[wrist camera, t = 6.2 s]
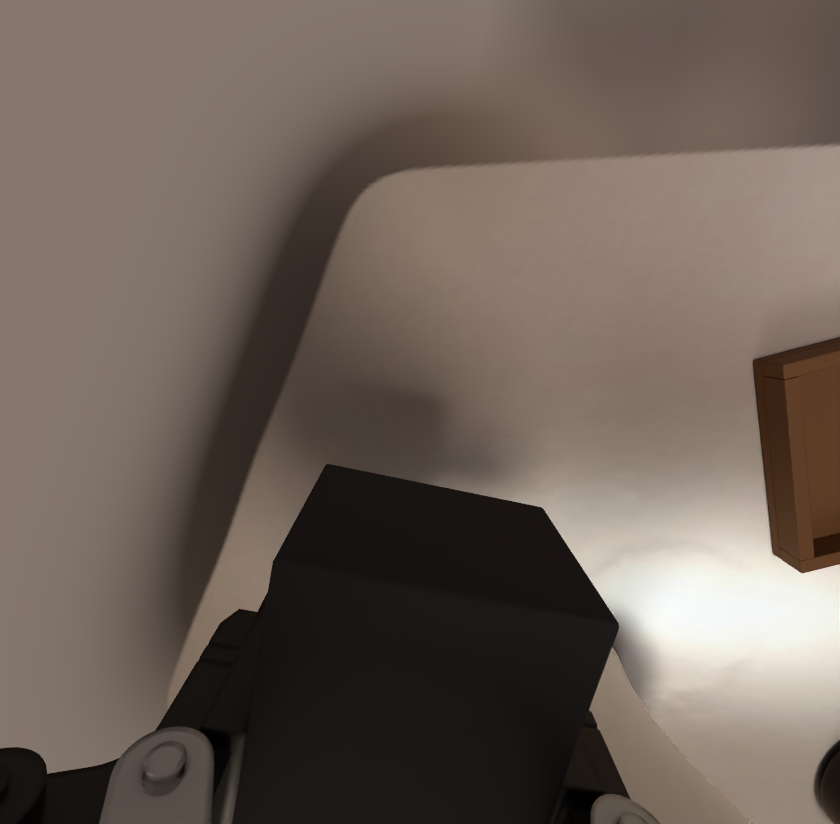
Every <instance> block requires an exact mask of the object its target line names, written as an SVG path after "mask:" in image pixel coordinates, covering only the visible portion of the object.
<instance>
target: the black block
mask: <svg viewBox="0 0 840 824" xmlns="http://www.w3.org/2000/svg"><path fill="white" fill-rule="evenodd" d="M618 629H619V625H618V622H617V620H616V619H615V617H614V616H613V614H612V613H611V611H610V610H609V608H608V607H607V605H606V604H605V602H604V601H603V599H602V598H601V596H600V595H599V593H598V592H597V590H596V588H595V587H594V585H593V584H592V582H591V581H590V579H589V578H588V576H587V575H586V573H585V572H584V570H583V569H582V567H581V566H580V564H579V563H578V561H577V560H576V558H575V557H574V555H573V554H572V552H571V550H570V549H569V547H568V546H567V544H566V543H565V541H564V540H563V538H562V537H561V535H560V534H559V532H558V531H557V529H556V528H555V526H554V525H553V523H552V522H551V520H550V519H549V517H548V515H547V514H546V512H545V511H544V509H543V508H541V507H537V506H532V505H527V504H522V503H517V502H512V501H507V500H502V499H498V498H493V497H488V496H483V495H478V494H473V493H468V492H463V491H458V490H453V489H449V488H444V487H439V486H434V485H429V484H424V483H419V482H414V481H409V480H404V479H399V478H395V477H390V476H385V475H380V474H375V473H370V472H365V471H360V470H355V469H350V468H345V467H341V466H336V465H331V464H326V466H325V467H324V469H323V471H322V473H321V474H320V476H319V478H318V480H317V482H316V484H315V485H314V487H313V489H312V491H311V493H310V495H309V497H308V498H307V500H306V502H305V504H304V506H303V508H302V509H301V511H300V513H299V515H298V517H297V519H296V520H295V522H294V524H293V526H292V528H291V530H290V531H289V533H288V535H287V537H286V539H285V541H284V543H283V544H282V546H281V548H280V550H279V552H278V554H277V555H276V557H275V559H274V561H273V565H272V571H271V577H270V583H269V589H268V595H267V600H266V606H265V612H264V618H263V624H262V630H261V636H260V642H259V647H258V653H257V659H256V665H255V671H254V677H253V683H252V688H251V694H250V700H249V706H248V712H247V718H246V724H245V731H246V732H247V737H246V743H245V749H244V754H243V760H242V766H241V772H240V778H239V784H238V790H237V796H236V802H235V808H234V814H233V820H232V824H547V822H548V819H549V817H550V814H551V811H552V808H553V806H554V803H555V800H556V797H557V794H558V792H559V789H560V786H561V783H562V782H563V780H564V777H565V774H566V772H567V769H568V766H569V763H570V761H571V758H572V755H573V752H574V750H575V747H576V744H577V742H578V739H579V736H580V733H581V731H582V728H583V725H584V722H585V720H586V717H587V714H588V711H589V709H590V706H591V703H592V700H593V698H594V695H595V692H596V689H597V687H598V684H599V681H600V679H601V676H602V673H603V670H604V668H605V665H606V662H607V659H608V657H609V654H610V651H611V648H612V646H613V643H614V640H615V637H616V635H617V632H618Z"/></svg>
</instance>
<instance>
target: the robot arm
mask: <svg viewBox="0 0 840 824" xmlns="http://www.w3.org/2000/svg"><path fill="white" fill-rule="evenodd" d="M267 595H268V593H267V594H266V596H265V598H264V600H263V602H262V604H261V606H260V608H259V610H258V612H254V611H248V610H242V609H239V610H237V611H236V612H235V613H233V614H232V615H231V616H229V617H228V618H227V619H225V620H224V621H223V622H221V623H220V625H219V626H218V628H217V630H216V631H215V633H214V635H213V636H212V638H211V640H210V641H209V644H208V646H206V648H205V650H204V651H203V653H202V655H201V656H200V659H199V661H198V662H197V663H196V665H195V666H194V668H193V669H192V671H191V673H190V674H189V676H188V678H187V679H186V681H185V683H184V684H183V686H182V688H181V689H180V691H179V693H178V694H177V696H176V698H175V699H174V701H173V703H172V704H171V706H170V708H169V709H168V711H167V713H166V714H165V716H164V718H163V719H162V721H161V723H160V724H159V726H158V727H157V729H156V730H155V731H154V732H152V733H150V734H148V735H145V736H144V737H142V738H141V739H139V740H137V741H136V742H135V743H134V744H133V745H131V746H130V747H129V748H128V749H127V750H126V751H125V752H124V753H123V754H122V756H121V757H120V758H118V759H116V760H114V761H111V762H108V763H105V764H102V765H98V766H93V767H88V768H81V769H75V770H69V771H62V772H56V773H50V774H47V769H46V764H45V762H44V760H43V759H42V758H41V756H40V755H39V754H37V753H36V752H34V751H32V750H29V749H25V748H17V747H15V748H2V749H0V824H232V820H233V814H234V808H235V802H236V796H237V790H238V784H239V778H240V772H241V766H242V760H243V754H244V749H245V743H246V737H247V732H246V731H245V724H246V718H247V712H248V706H249V700H250V694H251V688H252V683H253V677H254V671H255V665H256V659H257V653H258V647H259V642H260V636H261V630H262V624H263V618H264V612H265V606H266V600H267ZM547 824H660V823H659V822H658V820H657V819H656V818H655V817H654V816H653V815H652V814H650V813H649V812H648V811H647V810H646V809H645V808H643V807H642V806H640V805H639V804H637V803H636V802H634V801H632V800H631V799H630V797H629V794H628V792H627V790H626V788H625V785H624V783H623V781H622V779H621V776H620V774H619V772H618V770H617V768H616V765H615V763H614V761H613V759H612V756H611V754H610V752H609V750H608V747H607V745H606V743H605V741H604V739H603V736H602V734H601V732H600V730H598V729H597V723H596V721H595V718H594V716H593V714H592V712H591V711H588V714H587V717H586V720H585V722H584V725H583V728H582V731H581V733H580V736H579V739H578V742H577V744H576V747H575V750H574V752H573V755H572V758H571V761H570V763H569V766H568V769H567V772H566V774H565V777H564V780H563V782H562V783H561V786H560V789H559V792H558V794H557V797H556V800H555V803H554V806H553V808H552V811H551V814H550V817H549V819H548V822H547Z"/></svg>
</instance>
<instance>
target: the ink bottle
mask: <svg viewBox="0 0 840 824" xmlns="http://www.w3.org/2000/svg"><path fill="white" fill-rule="evenodd" d="M820 800H821V804H822V807H823V809H824V811H825V812H826V814H827V816H828V817H829V818H830V820H831V821H832V822H833V823H834V824H840V750H839V751H838V752H837V753H836V754H835V755H834V756H833V758H832V759H831V761H830V762H829V764H828V766H827V767H826V769H825V771H824V774H823V777H822V780H821V785H820Z"/></svg>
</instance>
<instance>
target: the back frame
mask: <svg viewBox="0 0 840 824" xmlns="http://www.w3.org/2000/svg"><path fill="white" fill-rule="evenodd" d="M754 371H755V381H756V391H757V400H758V410H759V420H760V429H761V439H762V448H763V458H764V468H765V477H766V487H767V497H768V506H769V516H770V526H771V535H772V545H773V553H774V555H776V556H777V557H779V558H781V559H782V560H783V561H784V562H786V563H787V564H789V565H790V566H792V567H793V568H795V569H796V570H798V571H799V572H801V573H805V572H809V571H814V570H818V569H822V568H826V567H830V566H834V565H838V564H840V338H837V339H833V340H829V341H826V342H822V343H818V344H814V345H810V346H807V347H803V348H799V349H795V350H791V351H788V352H784V353H780V354H776V355H772V356H769V357H765V358H761V359H757V360H754Z"/></svg>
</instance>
